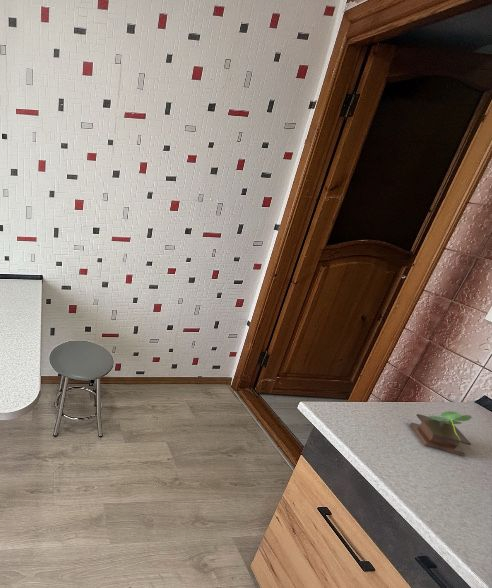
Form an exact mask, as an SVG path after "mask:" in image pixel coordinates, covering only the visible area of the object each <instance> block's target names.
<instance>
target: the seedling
mask: <svg viewBox="0 0 492 588" xmlns="http://www.w3.org/2000/svg"><path fill="white" fill-rule="evenodd" d="M428 417H430V418H431V419H434V420H437V421H446V422H444V423H446V424H453V427H454V425H461V424H463V422H466V421H470V420H471V419H472V416H471V415H469V414H464V415H463V414H461V413H459V412H457V411H449V410H448V411H444V412H441V413H440V415H439V416H438V415H429V416H428ZM454 431H455V427H454ZM455 434H456V435H457V433H456V431H455ZM457 436H458V435H457ZM458 438H459V436H458ZM459 440H460V438H459ZM460 441H461V440H460Z"/></svg>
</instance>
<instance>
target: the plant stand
mask: <svg viewBox="0 0 492 588" xmlns="http://www.w3.org/2000/svg"><path fill="white" fill-rule="evenodd" d="M416 417H417V418H418V419H419V421H420V423H416V422H410V424H409V427H410V428H411V429H412V431H413V432H414V433H415V435H416V437H417V438H419V440H420V442H421V443H422V444H423V446H425V447H427V448H428V447H429V448H430V449H431V448H432V449H435V450H439V451H443V452H446V453H449V454H453V455H457V456H461V457H463V455H464V454H465V452H464V450H462V448H461V447H460V446H459V444H464V445H467V446H471V445H472V443H471V441H469V439H467V437H466V436H465V435H464V434H463V433H462V432H461V431H460V430H459V428H458V427H457V426H456V424H454V427H455V431H456V433H457V435H458V436H459V438H460V440H461V441H460V440H459V438H458V436H457V435H456V434H455V431H454V427H453V424H446V423H444V422H446V421H437V420H434V419H431V418H430V417H429V416H428V415H425V414H421V413H416Z"/></svg>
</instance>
